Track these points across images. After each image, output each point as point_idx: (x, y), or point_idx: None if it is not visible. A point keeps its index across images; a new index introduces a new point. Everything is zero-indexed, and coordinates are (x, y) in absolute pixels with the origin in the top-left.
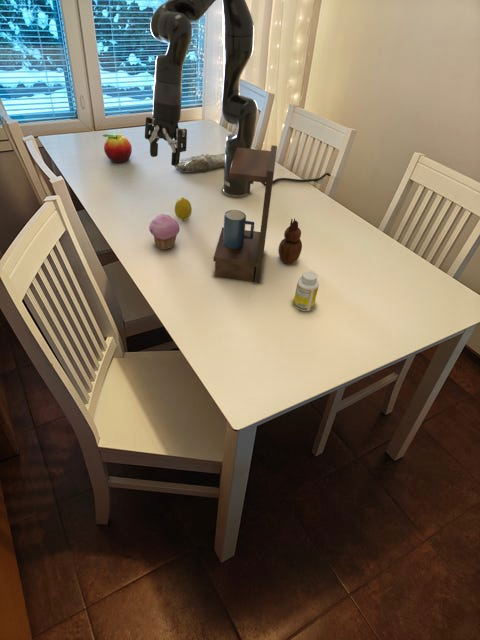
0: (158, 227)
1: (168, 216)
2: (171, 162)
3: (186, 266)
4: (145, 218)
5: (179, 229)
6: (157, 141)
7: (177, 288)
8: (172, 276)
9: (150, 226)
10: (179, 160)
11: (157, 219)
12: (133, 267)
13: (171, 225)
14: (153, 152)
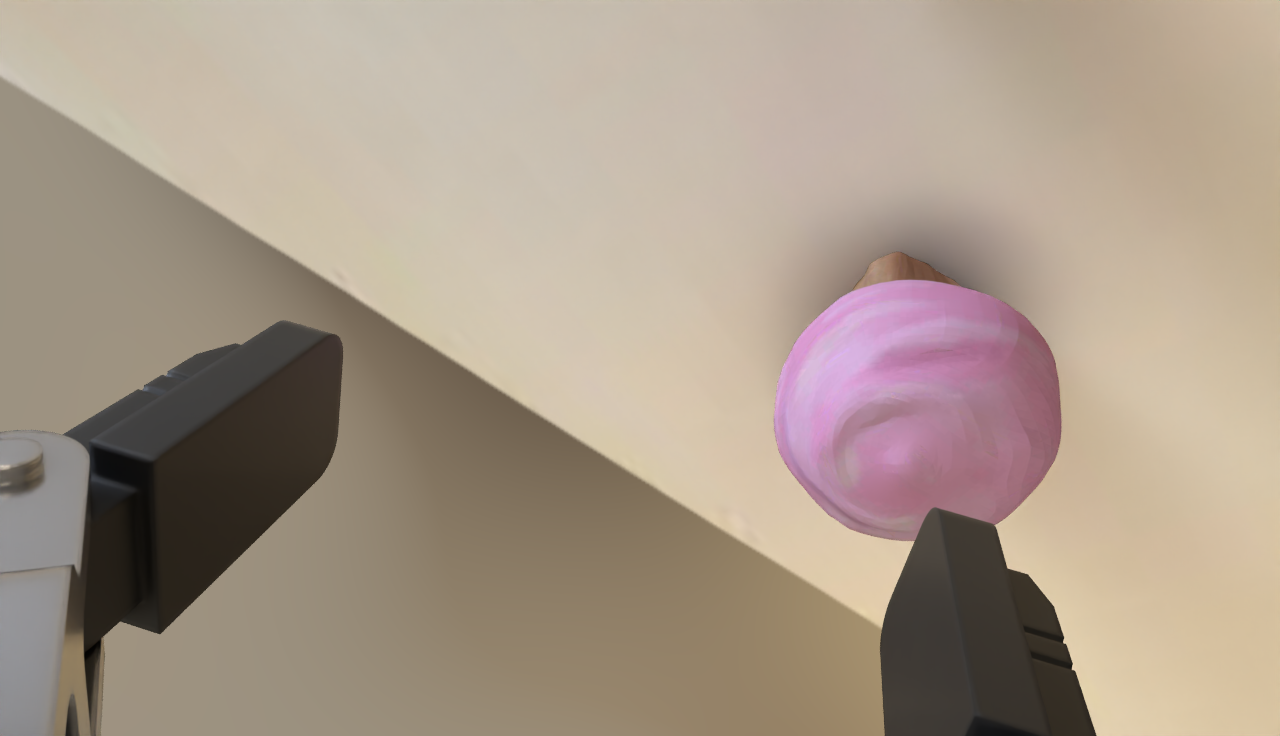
0: (912, 540)
1: (935, 420)
2: (884, 672)
3: (1183, 465)
4: (510, 23)
5: (1055, 364)
6: (88, 473)
7: (1200, 655)
8: (1120, 578)
9: (817, 503)
10: (1061, 631)
11: (861, 498)
12: (833, 578)
13: (1023, 500)
14: (288, 482)
